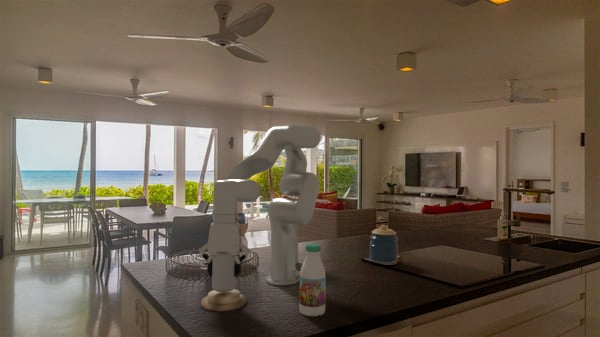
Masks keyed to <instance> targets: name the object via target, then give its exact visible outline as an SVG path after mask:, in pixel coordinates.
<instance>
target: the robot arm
mask: <svg viewBox="0 0 600 337" xmlns="http://www.w3.org/2000/svg"><path fill="white" fill-rule="evenodd" d="M321 134H322V133H321V132H320V130H319V129H318V128H317V127H316V126H315V125H296V124H295V125H294V124H291V125H290V124H289V125H276V126H273V127H270V128H269V129H268V130H267V131H266V133H265V134H264V136H263V138H262V139H261V141H260V142H259V143H258V145H257V146H256V148H255V150H254V151H253V152H252V153H251V154H250V155H248V156H246V157H244V158H243V159H242V160H241V161H239V162H238V163H236V164H235V165H234V166H233V167H232V168H231V169H230V170H229V172H227V174H226V176H224V177H225V178H224V179H222V180H219V179H218V180H216V181H214V183H213V195H212V196H213V197H212V198H213V203H212V206H213V207H212V209H213V210H212V222H211V224H210V228H209V231H208V232H209V233H208V240H207V242H206V244H204V245H203V246H201V247H200V248H199V249H198V252H199V254H200V255H201V256H202V258H203V259H204V260H205V262H206V263H207V273H208V276H209V277H212V258H213V256H214V255H216V253H220V254H227V253H230V255H231V256H233V257H234V259H235V261H236V264H235V277H236V278H237V277H238V276H239V275H240V274H241V272H242V267H241V266H242V262H243V261H244V260H246V258H247V257H248V255H249V254H250V253H251V249H250V248H248V247H247V246H246V245H245V244H244V243H243V242H242V240H243V238H242V229H241V224H240V223H239V221H242V219H243V216H242V215H239V214H238V203H239V202H240V203H252V202H255V201H256V200H258V199H259V198H260V194H261V187H260V185H259V183H258V182H257V181H255V180H253V179H250V178H251V177H253V176H256V175H257V174H260V173H264V172H266V171H267V170H270V169H272V168H273V166H274V165H275V164H276V162H277V160H278V159H279V157H280V155H281V154H282V152H283V151H284V153H285V158H286V161H285V164H284V165H285V166H284V168H283V171H282V175H281V178H280V180H279V181H280V182H279V191H280V193H281V194H282V195H284V196H287V197H276V198H274V199H272V200H271V201H270V202H269V204H268V209H267V210H268V211H267V212H268V219H269V224H270V225H269V226H270V228H269V229H270V247H269V248H270V251H269V252H270V255H269V256H270V257H269V258H270V262H269V267H270V268H269V274H268V275H267V276H266V277H265V281H266V282H267V283H268V284H270V285H274V286H290V285H295V284H297V283H299V282H300V272H301V270H299V269H297V267H296V264H295V240H296V235H295V230H294V228H293V226H292V224H297V225H298V226H299V225H300V226H305V225H307V224H308V223H310V222H311V220H312V217H313V214H314V211H315V206H316V204H317V199H318V196H319V193H320V192H319V191H320V180H319V178H318V176H317V175H316V174H315V173H314V172H309V171H308V172H307V166H308V161H307V158H306V155H305V153H304V152H303V150H302V149H315V148H317V147H318V146H319V144H320V143H321V139H322V135H321ZM294 197H298V198H294ZM206 250H207V252H206ZM242 251H244V253H243V255H242V256H241V255H240V253H241V252H242Z"/></svg>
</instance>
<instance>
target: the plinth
mask: <svg viewBox="0 0 600 337" xmlns="http://www.w3.org/2000/svg"><path fill="white" fill-rule="evenodd" d="M246 304H247V297H246V296H245V295H244V294H241V291H240V290H239V289H237V288H236V289H235V288H234V289H233V290H232V291H229V292H217V291H215V290H214V289H213V290H211V291H209V292H208V293H207V295H205V296H204V297H203V298H202V299H201V301H200V306H201V308H203V309H205V310H207V311H211V312H229V311H235V310H238V309H240V308H242V307H244V306H246Z"/></svg>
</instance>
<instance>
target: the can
mask: <svg viewBox="0 0 600 337" xmlns="http://www.w3.org/2000/svg"><path fill="white" fill-rule="evenodd" d="M235 264H236V261H235V259H234V257H233V256H231V255H230V253H227V254H220V253H216V255H214V256H213V258H212V276H211V288H212V289H213V290H215V291H217V292H229V291H232V290H233V289H235V288H236V287H237V277H235Z"/></svg>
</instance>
